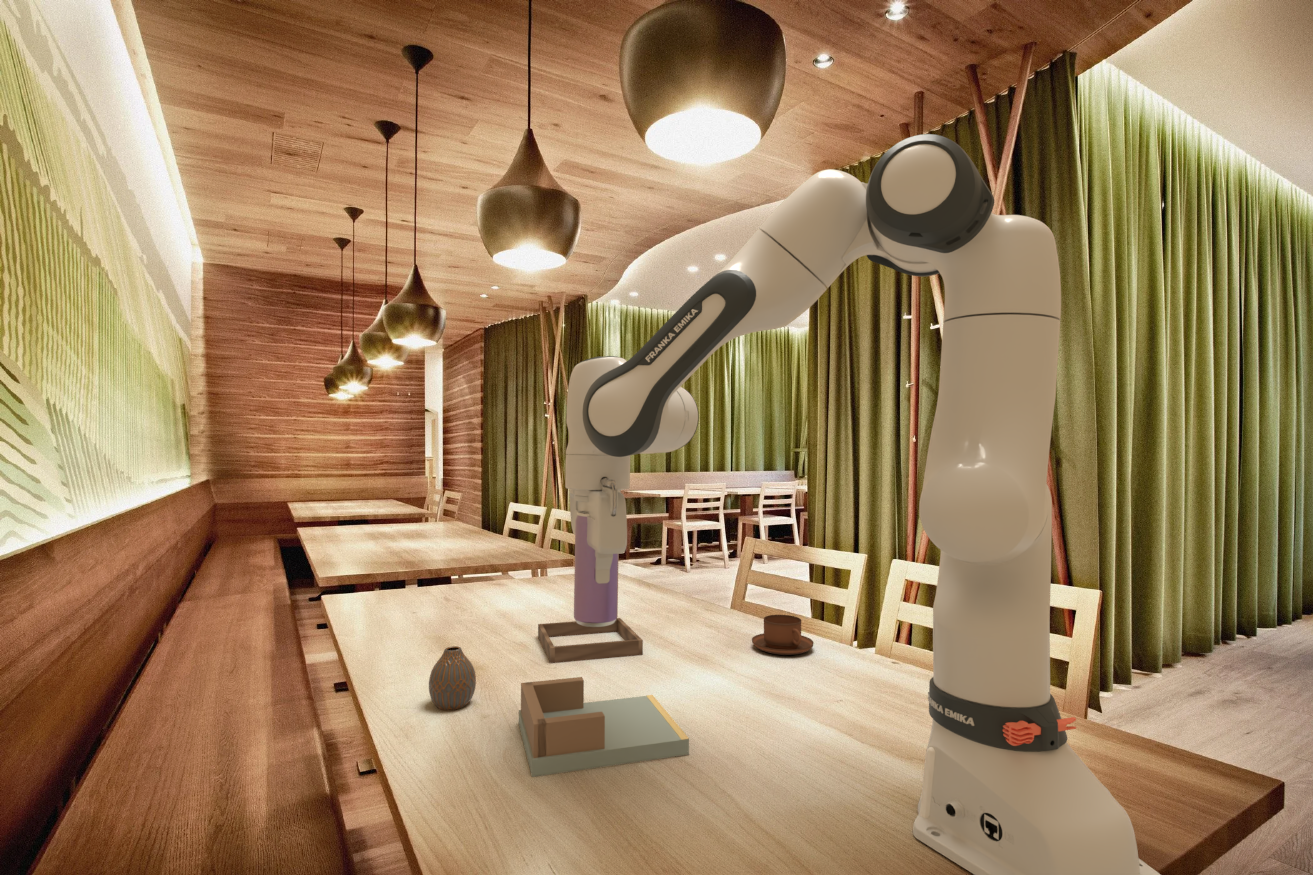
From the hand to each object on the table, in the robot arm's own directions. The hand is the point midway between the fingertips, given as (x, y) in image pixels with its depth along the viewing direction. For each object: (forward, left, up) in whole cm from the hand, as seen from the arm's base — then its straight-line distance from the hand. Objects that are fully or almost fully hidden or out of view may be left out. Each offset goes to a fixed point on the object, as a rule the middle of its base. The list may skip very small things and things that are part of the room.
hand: (596, 577), depth 90 cm
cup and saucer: (+29, -44, -22) cm, 57 cm away
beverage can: (0, 0, -6) cm, 6 cm away
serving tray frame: (+42, -7, -22) cm, 48 cm away
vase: (+18, +19, -22) cm, 34 cm away
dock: (0, 0, -22) cm, 22 cm away
